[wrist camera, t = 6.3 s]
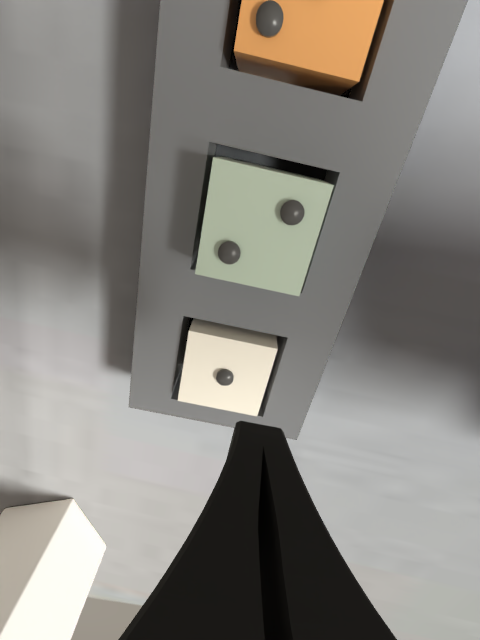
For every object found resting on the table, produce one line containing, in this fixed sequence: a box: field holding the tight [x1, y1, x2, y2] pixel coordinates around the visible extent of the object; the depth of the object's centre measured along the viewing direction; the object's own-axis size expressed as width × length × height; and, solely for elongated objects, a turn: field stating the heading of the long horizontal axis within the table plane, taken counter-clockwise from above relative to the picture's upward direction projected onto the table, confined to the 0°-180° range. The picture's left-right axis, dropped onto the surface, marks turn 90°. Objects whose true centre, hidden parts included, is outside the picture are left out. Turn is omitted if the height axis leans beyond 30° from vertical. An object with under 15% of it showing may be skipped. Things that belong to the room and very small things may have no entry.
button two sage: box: [195, 156, 334, 296], centre depth 13 cm, size 4×4×3 cm
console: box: [129, 0, 468, 440], centre depth 14 cm, size 21×9×2 cm, turn 168°
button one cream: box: [178, 318, 278, 416], centre depth 17 cm, size 4×4×3 cm
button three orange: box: [234, 0, 384, 96], centre depth 11 cm, size 4×4×3 cm
